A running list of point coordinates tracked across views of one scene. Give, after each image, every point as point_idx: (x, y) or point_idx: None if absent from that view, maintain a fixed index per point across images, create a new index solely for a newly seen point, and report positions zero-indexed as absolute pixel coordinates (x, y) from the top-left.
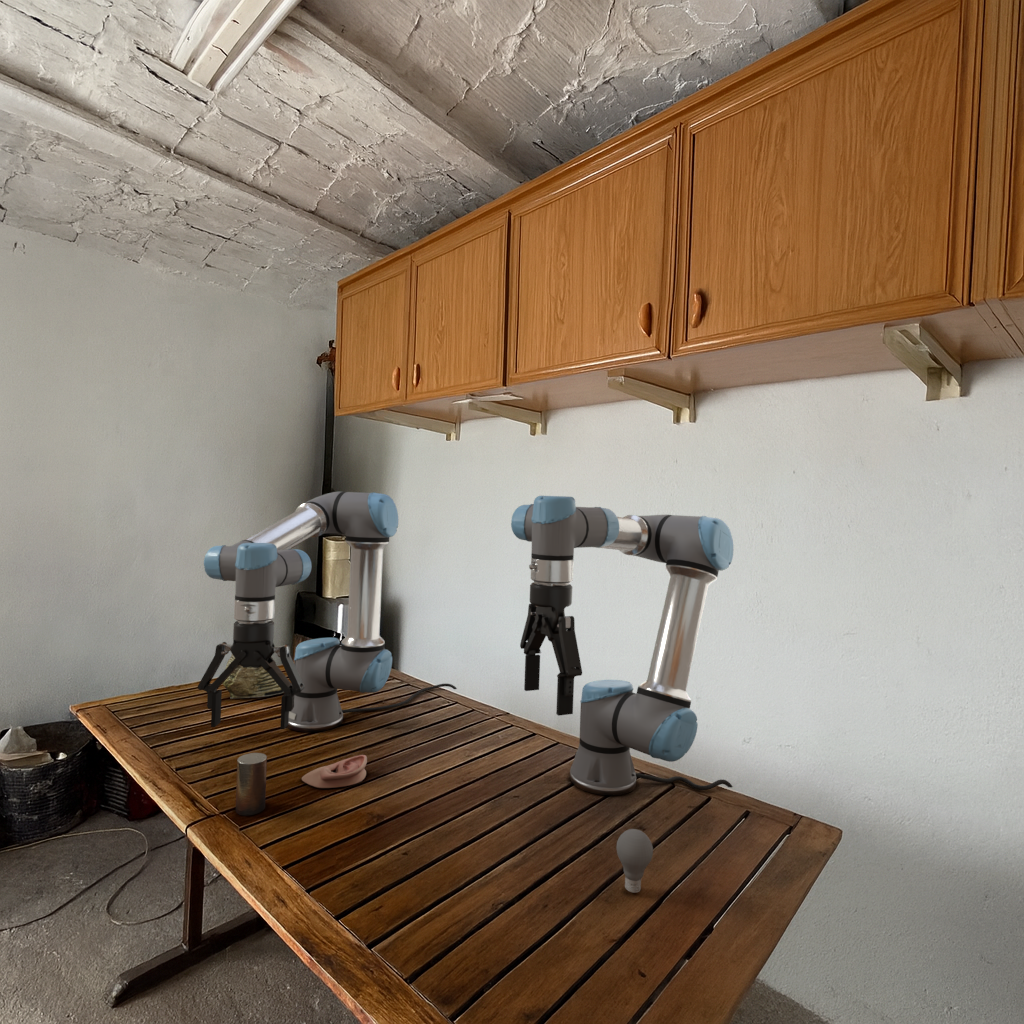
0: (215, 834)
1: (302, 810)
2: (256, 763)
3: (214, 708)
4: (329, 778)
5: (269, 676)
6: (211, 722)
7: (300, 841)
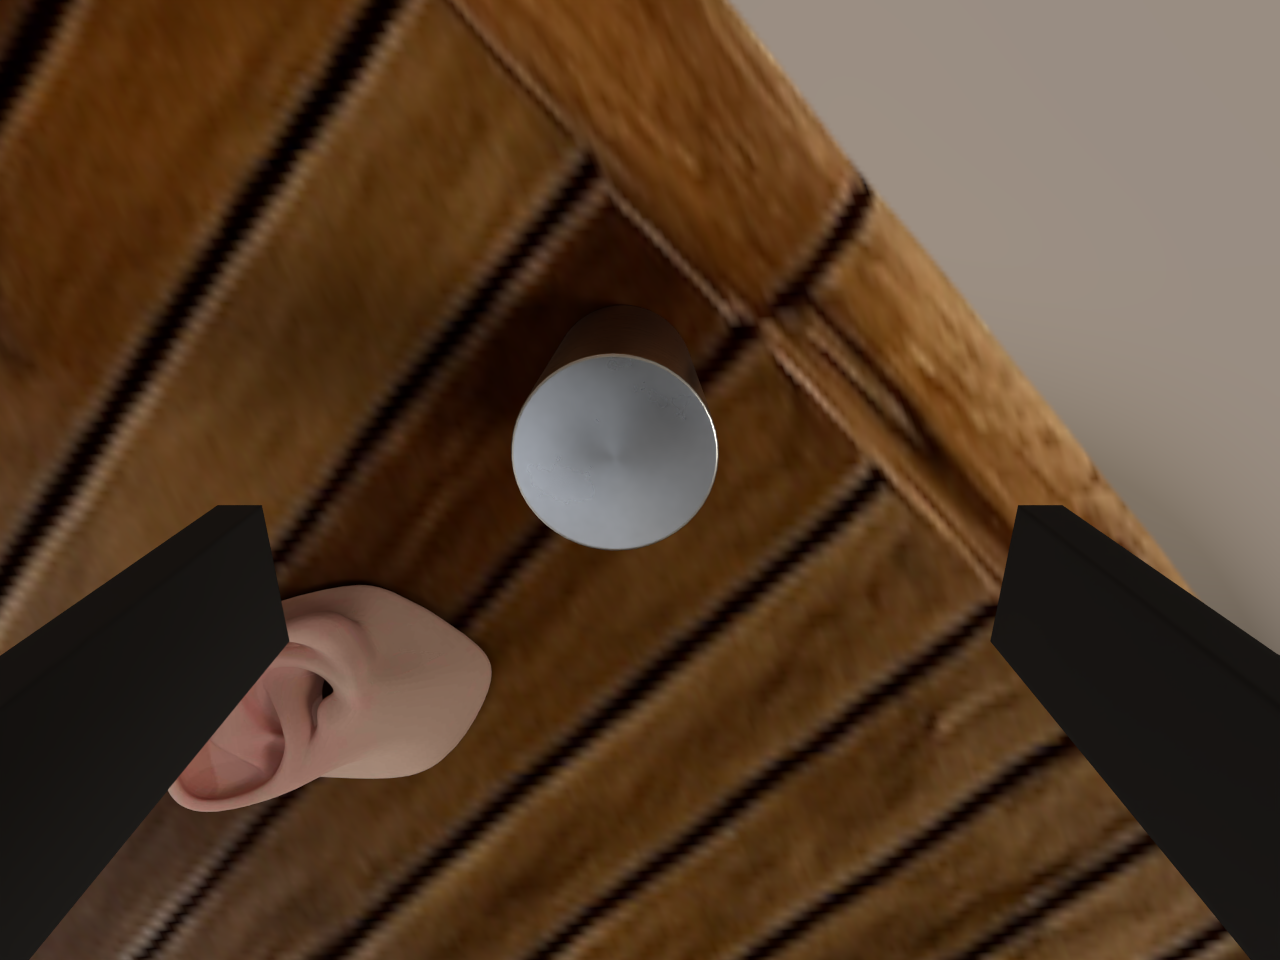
0: (699, 101)
1: (364, 375)
2: (550, 375)
3: (1187, 622)
4: (305, 613)
5: None
6: (1089, 525)
7: (232, 46)
